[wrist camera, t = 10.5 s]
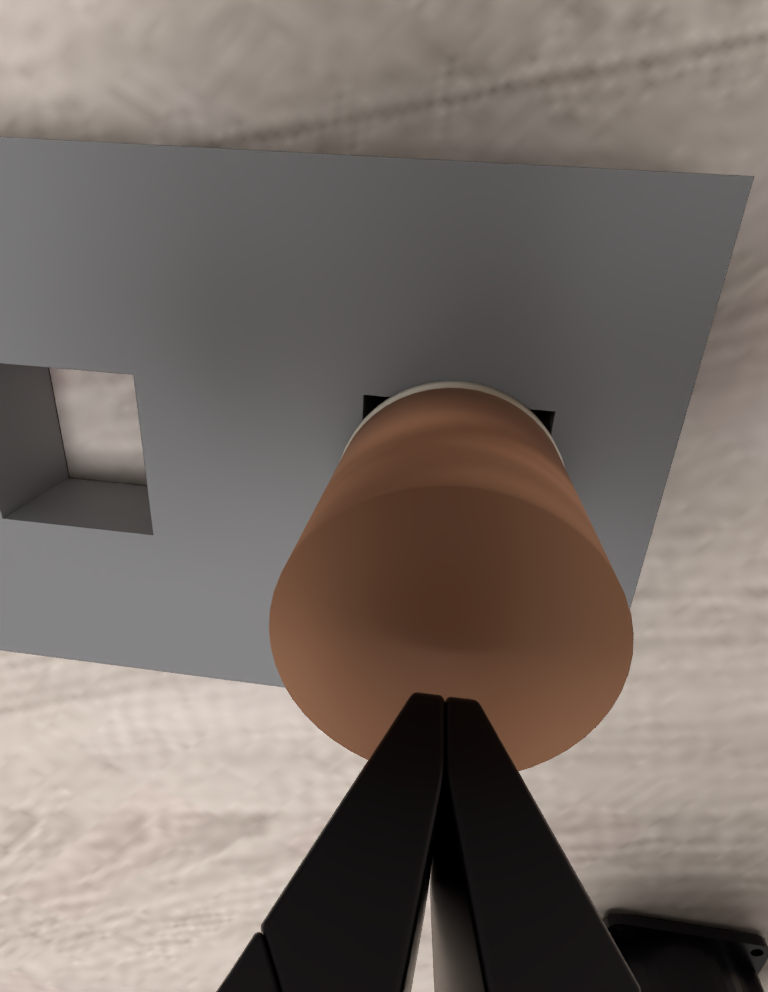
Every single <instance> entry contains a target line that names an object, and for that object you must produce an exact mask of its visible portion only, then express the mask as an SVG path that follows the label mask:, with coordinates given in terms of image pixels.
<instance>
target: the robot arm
mask: <svg viewBox="0 0 768 992" xmlns="http://www.w3.org/2000/svg"><path fill="white" fill-rule="evenodd" d="M430 873H431V879H430ZM429 880H430V898H431V926H432V947H433V968H434V990H435V992H764V990H763V987H762V985H761V982H760V980H759V977H758V974H759V972H760V970H761V969H762V967H763V965H764V964H765V962H766V960H767V958H768V946H767V943H766V941H765V939H764V938H763V937H761V936H758V935H754V934H748V933H741V932H735V931H728V930H722V929H715V928H709V927H703V926H696V925H690V924H683V923H677V922H671V921H664V920H658V919H651V918H645V917H639V916H632V915H626V914H618V913H614V914H610V915H608V916H607V917H606V918H605V920H604V922H603V921H602V919H601V917H600V915H599V913H598V912H597V910H596V908H595V906H594V905H593V903H592V901H591V899H590V898H589V896H588V894H587V892H586V890H585V889H584V887H583V885H582V883H581V882H580V880H579V878H578V876H577V875H576V873H575V871H574V869H573V867H572V866H571V864H570V862H569V860H568V859H567V857H566V855H565V853H564V852H563V850H562V848H561V846H560V844H559V843H558V841H557V839H556V837H555V836H554V834H553V832H552V830H551V829H550V827H549V825H548V823H547V821H546V820H545V818H544V816H543V814H542V813H541V811H540V809H539V807H538V806H537V804H536V802H535V800H534V798H533V797H532V795H531V793H530V791H529V790H528V788H527V786H526V784H525V783H524V781H523V779H522V777H521V775H520V774H519V772H518V770H517V768H516V767H515V765H514V763H513V761H512V760H511V758H510V756H509V754H508V752H507V751H506V749H505V747H504V745H503V744H502V742H501V740H500V738H499V737H498V735H497V733H496V731H495V729H494V728H493V726H492V724H491V722H490V721H489V719H488V717H487V715H486V714H485V712H484V710H483V708H482V707H481V705H480V703H479V702H478V701H476V700H473V699H466V698H458V697H448V698H447V699H446V700H444V698H443V697H442V696H441V695H435V694H428V693H420V692H415V693H413V694H412V695H411V696H410V697H409V699H408V700H407V702H406V703H405V705H404V706H403V708H402V709H401V711H400V712H399V714H398V716H397V717H396V719H395V720H394V722H393V723H392V725H391V726H390V728H389V729H388V731H387V732H386V734H385V736H384V737H383V739H382V740H381V742H380V743H379V745H378V746H377V748H376V749H375V751H374V752H373V754H372V755H371V757H370V759H369V760H368V762H367V763H366V765H365V766H364V768H363V769H362V771H361V772H360V774H359V775H358V777H357V778H356V780H355V782H354V783H353V785H352V786H351V788H350V789H349V791H348V792H347V794H346V795H345V797H344V798H343V800H342V801H341V803H340V805H339V806H338V808H337V809H336V811H335V812H334V814H333V815H332V817H331V818H330V820H329V821H328V823H327V824H326V826H325V828H324V829H323V831H322V832H321V834H320V835H319V837H318V838H317V840H316V841H315V843H314V844H313V846H312V848H311V849H310V851H309V852H308V854H307V855H306V857H305V858H304V860H303V861H302V863H301V864H300V866H299V867H298V869H297V871H296V872H295V874H294V875H293V877H292V878H291V880H290V881H289V883H288V884H287V886H286V887H285V889H284V890H283V892H282V894H281V895H280V897H279V898H278V900H277V901H276V903H275V904H274V906H273V907H272V909H271V910H270V912H269V913H268V915H267V917H266V918H265V920H264V921H263V923H262V924H261V933H260V932H257V933H255V934H254V936H253V937H252V939H251V940H250V942H249V943H248V945H247V946H246V948H245V950H244V951H243V953H242V954H241V956H240V957H239V959H238V960H237V962H236V963H235V965H234V966H233V968H232V969H231V971H230V973H229V974H228V975H227V977H226V978H225V980H224V981H223V983H222V984H221V986H220V987H219V988H218V990H217V991H216V992H411V988H412V983H413V977H414V971H415V965H416V960H417V954H418V948H419V942H420V937H421V931H422V925H423V919H424V914H425V908H426V901H427V894H428V887H429Z"/></svg>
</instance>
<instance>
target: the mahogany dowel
mask: <svg viewBox="0 0 768 992" xmlns="http://www.w3.org/2000/svg"><path fill="white" fill-rule="evenodd" d="M269 635H270V645H271V650H272V654H273V658H274V661H275V665H276V668H277V670H278V672H279V675H280V677H281V679H282V682H283V684H284V685H285V687H286V689H287V690H288V692H289V694H290V695H291V697H292V699H293V700H294V701H295V703H296V704H297V705H298V707H299V708H300V709H301V710H302V712H303V713H304V714H305V715H306V716H307V717H308V718H309V719H310V720H311V721H312V722H313V723H314V724H315V725H316V726H317V727H318V728H319V729H320V730H322V731H323V732H324V733H325V734H326V735H328V736H329V737H330V738H331V739H333V740H334V741H336V742H337V743H339V744H340V745H342V746H343V747H345V748H347V749H348V750H350V751H352V752H353V753H355V754H357V755H359V756H361V757H363V758H365V759H367V760H369V759H370V757H371V755H372V754H373V752H374V751H375V749H376V748H377V746H378V745H379V743H380V742H381V740H382V739H383V737H384V736H385V734H386V732H387V731H388V729H389V728H390V726H391V725H392V723H393V722H394V720H395V719H396V717H397V716H398V714H399V712H400V711H401V709H402V708H403V706H404V705H405V703H406V702H407V700H408V699H409V697H410V696H411V695H412V694H413V693H415V692H420V693H428V694H435V695H441V696H442V697H443V698H444V700H446V699H447V698H448V697H458V698H466V699H473V700H476V701H478V702H479V703H480V705H481V707H482V708H483V710H484V712H485V714H486V715H487V717H488V719H489V721H490V722H491V724H492V726H493V728H494V729H495V731H496V733H497V735H498V737H499V738H500V740H501V742H502V744H503V745H504V747H505V749H506V751H507V752H508V754H509V756H510V758H511V760H512V761H513V763H514V765H515V767H516V768H517V770H518V771H520V770H524V769H527V768H530V767H533V766H535V765H538V764H540V763H543V762H545V761H547V760H550V759H552V758H553V757H555V756H557V755H559V754H561V753H562V752H564V751H566V750H568V749H569V748H571V747H572V746H573V745H575V744H576V743H578V742H579V741H580V740H582V739H583V738H584V737H586V736H587V735H588V734H589V733H590V732H591V731H592V730H593V729H594V728H595V727H596V726H597V725H598V724H599V723H600V722H601V721H602V719H603V718H604V717H605V716H606V715H607V713H608V712H609V711H610V710H611V708H612V707H613V705H614V703H615V701H616V700H617V698H618V696H619V695H620V693H621V691H622V689H623V686H624V683H625V681H626V678H627V676H628V673H629V669H630V664H631V659H632V655H633V627H632V619H631V613H630V609H629V606H628V603H627V599H626V596H625V593H624V591H623V589H622V587H621V585H620V583H619V580H618V578H617V576H616V574H615V572H614V570H613V568H612V566H611V564H610V562H609V559H608V557H607V555H606V553H605V551H604V549H603V547H602V545H601V543H600V541H599V538H598V536H597V534H596V532H595V530H594V528H593V526H592V524H591V522H590V520H589V517H588V515H587V513H586V511H585V509H584V507H583V505H582V503H581V501H580V499H579V496H578V494H577V492H576V490H575V488H574V486H573V484H572V482H571V480H570V478H569V475H568V473H567V471H566V469H565V466H564V463H563V460H562V457H561V454H560V452H559V450H558V448H557V446H556V444H555V442H554V440H553V438H552V436H551V434H550V433H549V431H548V430H547V429H546V427H545V426H544V424H543V423H542V422H541V421H540V420H539V418H538V417H537V416H536V415H535V414H534V413H533V412H532V411H531V410H529V409H528V408H527V407H526V406H525V405H523V404H522V403H521V402H519V401H518V400H516V399H514V398H513V397H511V396H509V395H508V394H506V393H503V392H501V391H499V390H496V389H494V388H491V387H488V386H484V385H481V384H477V383H471V382H464V381H440V382H431V383H426V384H422V385H418V386H414V387H412V388H409V389H406V390H404V391H401V392H399V393H397V394H396V395H394V396H392V397H390V398H388V399H386V400H385V401H384V402H382V403H381V404H380V405H378V406H377V407H376V408H374V409H373V410H372V411H371V412H370V413H369V414H368V415H367V416H366V417H365V418H364V419H363V421H362V422H361V423H360V424H359V426H358V427H357V428H356V430H355V431H354V433H353V435H352V436H351V438H350V440H349V442H348V443H347V445H346V447H345V449H344V452H343V454H342V457H341V459H340V462H339V464H338V466H337V468H336V470H335V472H334V474H333V475H332V477H331V479H330V481H329V483H328V485H327V487H326V489H325V491H324V493H323V494H322V496H321V498H320V500H319V502H318V504H317V506H316V508H315V510H314V512H313V513H312V515H311V517H310V519H309V521H308V523H307V525H306V527H305V529H304V530H303V532H302V534H301V536H300V538H299V540H298V542H297V544H296V546H295V548H294V549H293V551H292V553H291V555H290V557H289V559H288V561H287V563H286V565H285V566H284V568H283V570H282V572H281V574H280V577H279V579H278V582H277V585H276V587H275V590H274V593H273V597H272V602H271V607H270V615H269Z"/></svg>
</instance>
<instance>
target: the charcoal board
mask: <svg viewBox="0 0 768 992" xmlns="http://www.w3.org/2000/svg"><path fill="white" fill-rule="evenodd" d="M753 179H754V176H738V175H719V174H700V173H681V172H662V171H643V170H624V169H605V168H586V167H567V166H548V165H529V164H510V163H491V162H472V161H452V160H433V159H414V158H395V157H376V156H357V155H338V154H319V153H300V152H281V151H262V150H243V149H224V148H205V147H186V146H167V145H147V144H128V143H109V142H90V141H71V140H52V139H33V138H14V137H0V650H2V651H10V652H18V653H25V654H33V655H41V656H48V657H56V658H64V659H71V660H79V661H87V662H94V663H102V664H109V665H117V666H125V667H132V668H140V669H148V670H155V671H163V672H171V673H178V674H186V675H194V676H201V677H209V678H217V679H224V680H232V681H240V682H247V683H255V684H263V685H270V686H278V687H285V685H284V684H283V682H282V679H281V677H280V675H279V672H278V670H277V668H276V665H275V661H274V658H273V654H272V650H271V645H270V635H269V615H270V607H271V602H272V597H273V593H274V590H275V587H276V585H277V582H278V579H279V577H280V574H281V572H282V570H283V568H284V566H285V565H286V563H287V561H288V559H289V557H290V555H291V553H292V551H293V549H294V548H295V546H296V544H297V542H298V540H299V538H300V536H301V534H302V532H303V530H304V529H305V527H306V525H307V523H308V521H309V519H310V517H311V515H312V513H313V512H314V510H315V508H316V506H317V504H318V502H319V500H320V498H321V496H322V494H323V493H324V491H325V489H326V487H327V485H328V483H329V481H330V479H331V477H332V475H333V474H334V472H335V470H336V468H337V466H338V464H339V462H340V459H341V457H342V454H343V452H344V449H345V447H346V445H347V443H348V442H349V440H350V438H351V436H352V435H353V433H354V431H355V430H356V428H357V427H358V426H359V424H360V423H361V422H362V421H363V419H364V418H365V417H366V416H367V415H368V414H369V413H370V412H371V411H372V410H373V409H374V408H376V407H377V401H378V396H384V397H392V396H394V395H396V394H397V393H399V392H401V391H404V390H406V389H409V388H412V387H414V386H418V385H422V384H426V383H431V382H440V381H464V382H471V383H477V384H481V385H484V386H488V387H491V388H494V389H496V390H499V391H501V392H503V393H506V394H508V395H509V396H511V397H513V398H514V399H516V400H518V401H519V402H521V403H522V404H523V405H525V406H526V407H527V408H528V409H533V413H534V414H535V415H536V416H537V417H538V418H539V420H540V421H541V422H542V423H543V424H544V426H545V427H546V429H547V430H548V431H549V433H550V434H551V436H552V438H553V440H554V442H555V444H556V446H557V448H558V450H559V452H560V454H561V457H562V460H563V463H564V466H565V469H566V471H567V473H568V475H569V478H570V480H571V482H572V484H573V486H574V488H575V490H576V492H577V494H578V496H579V499H580V501H581V503H582V505H583V507H584V509H585V511H586V513H587V515H588V517H589V520H590V522H591V524H592V526H593V528H594V530H595V532H596V534H597V536H598V538H599V541H600V543H601V545H602V547H603V549H604V551H605V553H606V555H607V557H608V559H609V562H610V564H611V566H612V568H613V570H614V572H615V574H616V576H617V578H618V580H619V583H620V585H621V587H622V589H623V591H624V593H625V596H626V599H627V603H628V606H629V609H630V607H631V603H632V600H633V596H634V593H635V589H636V586H637V582H638V579H639V575H640V572H641V568H642V565H643V562H644V558H645V555H646V551H647V548H648V544H649V541H650V537H651V534H652V530H653V527H654V523H655V520H656V516H657V513H658V509H659V506H660V502H661V499H662V495H663V492H664V488H665V485H666V481H667V478H668V475H669V471H670V468H671V464H672V461H673V457H674V454H675V450H676V447H677V443H678V440H679V436H680V433H681V429H682V426H683V422H684V419H685V415H686V412H687V408H688V405H689V401H690V398H691V395H692V391H693V388H694V384H695V381H696V377H697V374H698V370H699V367H700V363H701V360H702V356H703V353H704V349H705V346H706V342H707V339H708V335H709V332H710V328H711V325H712V321H713V318H714V314H715V311H716V308H717V304H718V301H719V297H720V294H721V290H722V287H723V283H724V280H725V276H726V273H727V269H728V266H729V262H730V259H731V255H732V252H733V248H734V245H735V241H736V238H737V234H738V231H739V227H740V224H741V221H742V217H743V214H744V210H745V207H746V203H747V200H748V196H749V193H750V189H751V186H752V182H753ZM48 367H50V368H62V369H73V370H85V371H96V372H108V373H119V374H131V375H134V383H135V391H136V399H137V407H138V415H139V423H140V431H141V439H142V447H143V455H144V463H145V471H146V479H147V486H141V485H131V484H122V483H112V482H102V481H93V480H83V479H73V478H69V477H68V471H67V466H66V461H65V455H64V450H63V445H62V439H61V434H60V428H59V423H58V418H57V412H56V407H55V402H54V396H53V391H52V386H51V380H50V375H49V370H48ZM285 688H286V687H285ZM595 728H596V727H595Z"/></svg>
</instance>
